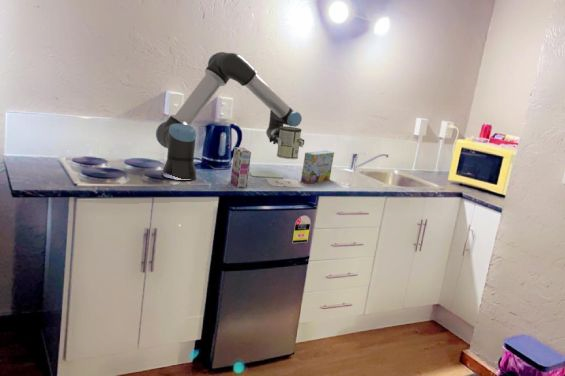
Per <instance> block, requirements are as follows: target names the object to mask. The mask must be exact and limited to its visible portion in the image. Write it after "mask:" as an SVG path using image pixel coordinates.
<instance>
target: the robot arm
mask: <svg viewBox="0 0 565 376" xmlns="http://www.w3.org/2000/svg"><path fill="white" fill-rule="evenodd" d="M204 73H205V74H204V76H203V78H202V79H201V81H199V83H198V84H197V86H196V87H195V88H194V90H193V91H192V92H191V94H190V95H189V96H188V97H187V98H186V101H184V103H183V104H182V106H181V107H180V108H179V110H177V112H176V113H175V114H172V115H170V116H169V117H168V118H167V120H166V121H164V122H162V123H160V124H159V125H158V126H157V128H156V131H155V137H156V140H157V142H158V143H159V144H160V146H162V147H163V148H166V149H167V156H166V157H167V159H166V161H165V164H164V167H163V169H162V171H163V172H164V173H167V174H169V175H172V176H175V177H178V178H181V179H195V178H196V179H197V170H196V167H195V163H194V162H195V161H194V160H195V149H196V148H195V147H196V138H197V131H196V128H195V127H194V126H192V125H193V123H194V122H195V120H196V119H197V118H198V117H199V115H200V114H201V112H202V111H203V109H204V108H205V107H206V105H208V104H209V102H210V101H211V99H213V97H214V95H215V94H216V93H217V91H218V89H220V87H225V86H226V84H228V82H229V80H233V81H235V82H237V83H238V84H239V85H240V86H242V87H246V88H247V89H248V90H249V91H250V92H251V93H252V94H253V95H254V96H255V97H256V98H258V100H260V102H262V103H263V104H264V105H265V106H266V107H267V108H268V109H269V111H270V113H269V123H268V127H267V129H266V133H265V134H266V136H267V138H268V139H269V143H272V142H273V143H272V145H277V146H278V145H280V146H281V141H282V140H281V139H279V133H280V127H281V126H284V125H285V126H288V127H295V128H297V127H298V126H300V124H301V122H302V118H303V117H302V114H301V113H300V112H298V111H296V110H293V109H292V107H290V106H289V105H288V103H286V102H285V101H284V100H283V99H282V98H281V97H280V96H279V95H278V94H277V93H276V92H275V91H274V90H273V89H272V88H271V86H269V85H268V84H267V83H266V82H265V81H264V80H263V79H262V78H261V77H260V76H259V75H258V74H257V70H256V69H255V68H254V67H253V66H252V65H251V64H250V63H249V62H248V61H247V60H246V59H245V58H244V57H242V56H241V55H240V54H238V53H235V52H225V51H220V52H216V53H214V54H213V55H211V56H210V58H209V59H208V62H207V67H206V68H205V70H204ZM304 145H305V139H303V138H301V137H300V143H299V148H303V147H304ZM196 179H195V180H196Z"/></svg>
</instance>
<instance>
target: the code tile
mask: <svg viewBox="0 0 565 376" xmlns="http://www.w3.org/2000/svg"><path fill="white" fill-rule="evenodd" d="M264 179H265V180H266V181H267V183H269V184H270V185H271V186H272V187H283V186H286V187H285V188H299V189H300V188H301V189H302V188H305V187H304V186H303V185H302V184H301V183H300V182H299V181H298V180H296V179H288V178H287V179H286V178H283V179H279V178H264ZM278 185H280V186H278ZM281 185H282V186H281Z"/></svg>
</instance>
